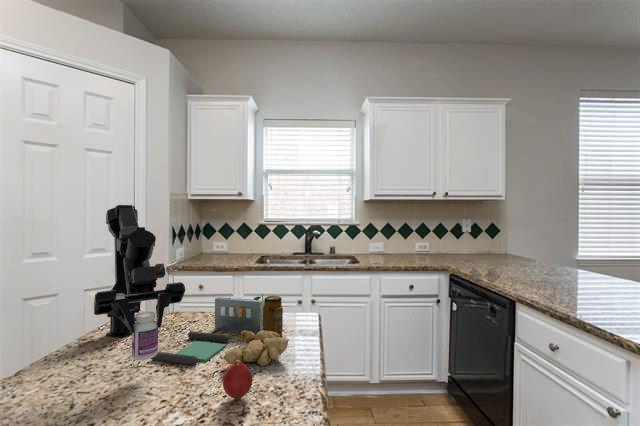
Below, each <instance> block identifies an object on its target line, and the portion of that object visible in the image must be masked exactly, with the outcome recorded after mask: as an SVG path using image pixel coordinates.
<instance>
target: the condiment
mask: <svg viewBox="0 0 640 426" xmlns="http://www.w3.org/2000/svg"><path fill="white" fill-rule="evenodd" d="M263 300H264V301H265V302H264V307H263V331H272V332H276V333H277V334H279V335H280V338H285V339H286V340H288V341H289V340H290V339H289V338H288V337H287V335H285V334H284V333H283V329H284V328H283V327H284V325H283V324H284V323H283V322H284V318H283V315H284V314H283V313H284V312H283V311H284V310H283V303H282V300H283V298H282V297H281V296H278V295H270V296H266V297H264V298H263Z"/></svg>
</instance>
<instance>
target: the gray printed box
mask: <svg viewBox="0 0 640 426" xmlns="http://www.w3.org/2000/svg"><path fill="white" fill-rule="evenodd" d="M263 300H264V299H263ZM263 300H262V299H259V300H253V299H250V298H249V299H248V298H236V297H235V298H234V297H220V296H218V297H216V298H214V330H218V331H228V332H237V333H241V332H242V331H244V330H245V331H248V332H252V333H254V334H255V335H257V333H258V332H260V331H263Z"/></svg>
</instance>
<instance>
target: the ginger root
mask: <svg viewBox="0 0 640 426" xmlns="http://www.w3.org/2000/svg"><path fill="white" fill-rule="evenodd" d="M240 338H241V341H244V343H245V344H246V345H245V346H244V347H240V348H239V347H237V348H235V347H233V348H231V349H229V350H228V351H227V352H225V354H224V356H223V358H222V359H223V360H225V362H226V363H227V364H229V365H234V364H235V363H234V362H235V361H236V360H240V361H241V363H245V362H246V363H248V362H257V364H259V365H260V366H263V367H264V366H267V365H268V364H270V362H271V361H272V360H276V359H278V358H279V356H281V355H282V354H283V353H284V352H285V351H286V350H287V348H288V345H289V340H286V339H285V338H280V335H279V334H277V333H276V332H272V331H260V332H258V333H257V334H255V333H252V332H248V331H245V330H244V331H242V332H240Z"/></svg>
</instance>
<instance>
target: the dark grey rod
mask: <svg viewBox="0 0 640 426" xmlns="http://www.w3.org/2000/svg"><path fill="white" fill-rule="evenodd" d="M187 336H188V338H189V339H194V340H205V341H211V342H220V343H227V342H229V340H230V336H229V335H228V334H221V333H213V332H203V331H202V332H201V331H195V330H194V331H192V330H191V331H189V332H188V335H187Z"/></svg>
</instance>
